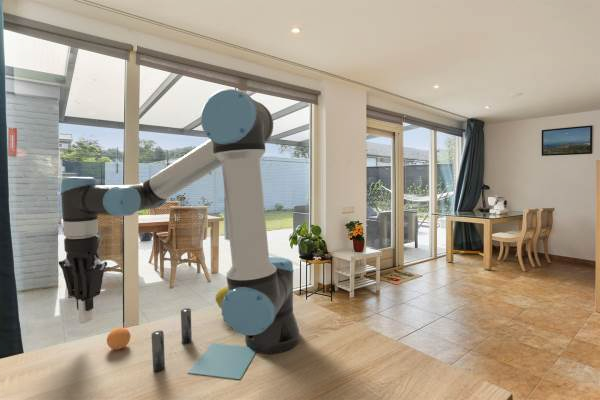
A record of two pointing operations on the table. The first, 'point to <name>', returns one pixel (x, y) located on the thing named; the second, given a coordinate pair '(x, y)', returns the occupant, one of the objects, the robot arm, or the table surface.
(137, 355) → the table surface
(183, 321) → the right post
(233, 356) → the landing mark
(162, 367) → the left post
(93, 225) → the robot arm
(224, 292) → the light bulb
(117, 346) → the ball
